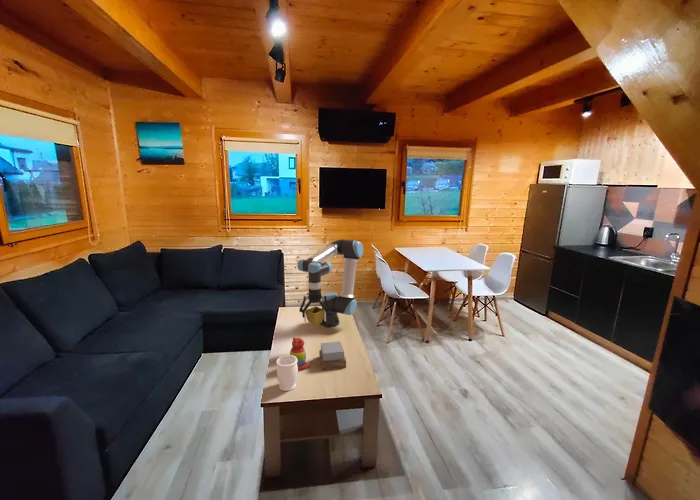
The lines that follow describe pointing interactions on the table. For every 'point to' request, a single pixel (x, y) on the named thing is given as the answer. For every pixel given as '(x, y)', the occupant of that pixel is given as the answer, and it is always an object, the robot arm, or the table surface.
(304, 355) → the stacking bear
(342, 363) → the walnut base slab
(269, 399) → the table surface
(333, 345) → the grey top slab
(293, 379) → the jar
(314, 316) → the flower pot
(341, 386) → the table surface
